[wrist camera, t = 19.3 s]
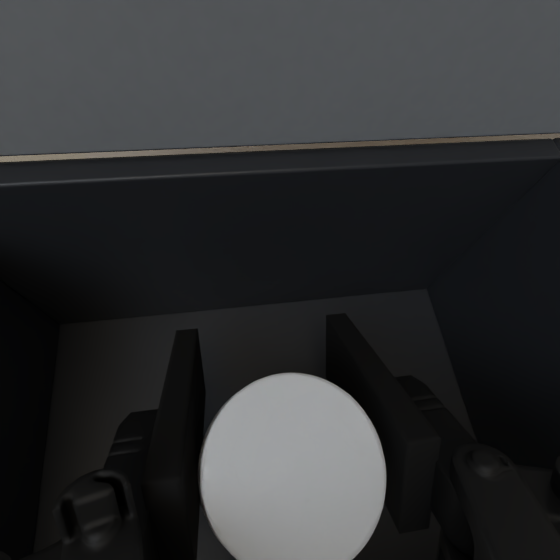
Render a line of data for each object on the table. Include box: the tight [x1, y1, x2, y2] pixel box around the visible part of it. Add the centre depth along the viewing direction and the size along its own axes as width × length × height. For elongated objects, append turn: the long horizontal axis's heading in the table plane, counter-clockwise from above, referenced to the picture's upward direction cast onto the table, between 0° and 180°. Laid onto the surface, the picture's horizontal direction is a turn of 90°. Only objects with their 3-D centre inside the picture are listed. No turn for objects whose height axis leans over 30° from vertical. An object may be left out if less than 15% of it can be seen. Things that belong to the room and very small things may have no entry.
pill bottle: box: [198, 372, 386, 560], centre depth 12 cm, size 5×5×8 cm
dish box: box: [0, 138, 560, 560], centre depth 12 cm, size 16×20×10 cm
